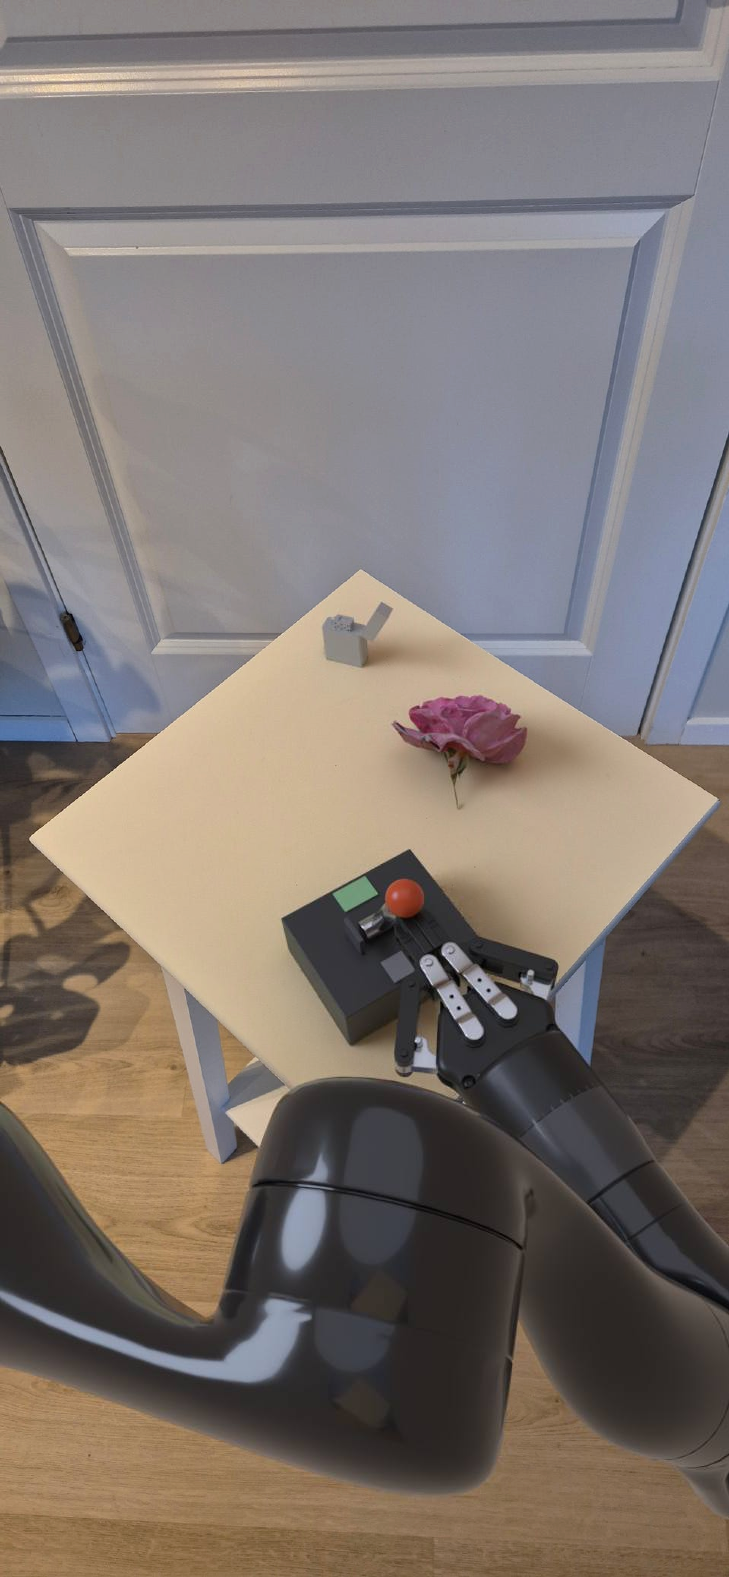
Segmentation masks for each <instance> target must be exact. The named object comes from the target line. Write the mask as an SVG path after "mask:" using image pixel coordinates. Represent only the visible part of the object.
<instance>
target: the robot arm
mask: <svg viewBox="0 0 729 1577" xmlns="http://www.w3.org/2000/svg"><path fill="white" fill-rule="evenodd" d="M394 933H395V940H396V944H397V945H398V946H399V948H400V949H401V951H402V952H403V953H404V955H405V956H406V958H407V959H408V961H409V962H410V963H411V965H412V966H413V968H414V969H415V970H414V971H413V973H412V974H411V975H408V976H406V977H404V979H403V980H402V987H401V996H400V1005H399V1013H398V1018H397V1024H396V1032H395V1041H394V1051H393V1057H394V1069H395V1070H394V1071H395V1073H396V1074H397V1076H399V1077H400V1078H408V1077H410V1076H412V1075H413V1073H420V1074H421V1073H422V1074H429V1075H430V1074H431V1075H436V1077H437V1079H438V1080H439V1082H440V1083H441V1084H442V1085H444V1086H446V1087H447V1088H449V1089H451V1090H453V1091H454V1092H455V1093H457V1094H458V1095H459V1097H460V1098H461V1099H462V1101H460V1100H458V1099H456V1098H453V1097H451V1096H448V1095H445V1094H442V1093H439V1092H436V1091H435V1090H431V1089H427V1088H425V1087H422V1086H418V1085H415V1084H410V1083H406V1082H402V1081H397V1080H392V1079H387V1078H386V1079H384V1078H376V1077H370V1076H369V1077H366V1076H330V1077H323V1078H316V1079H313V1080H309V1081H306V1082H303V1083H300V1084H297V1085H296V1086H294V1087H293V1088H292V1089H291V1090H289V1091H287V1093H285V1094H283V1096H281V1098H280V1099H279V1100H278V1102H277V1103H276V1104H275V1107H274V1109H273V1111H272V1113H271V1116H270V1118H269V1121H268V1123H267V1125H266V1128H265V1131H264V1133H263V1135H262V1139H261V1142H260V1145H259V1148H258V1150H257V1154H256V1157H255V1161H254V1163H253V1164H254V1165H253V1168H252V1172H251V1175H250V1179H249V1181H248V1182H249V1183H248V1189H249V1190H247V1191H246V1194H245V1197H244V1201H243V1205H242V1209H241V1213H240V1218H239V1221H238V1225H237V1228H236V1232H235V1235H234V1241H233V1244H232V1248H231V1251H230V1255H229V1259H228V1263H227V1266H226V1271H225V1274H224V1278H223V1281H222V1282H223V1283H222V1286H221V1289H222V1292H221V1293H220V1296H219V1299H218V1303H217V1306H216V1309H215V1310H214V1312H213V1313H211V1315H209V1316H204V1315H202V1314H200V1312H198V1311H196V1310H195V1309H193V1308H192V1307H190V1306H188V1305H187V1304H185V1303H184V1302H183V1301H181V1300H179V1299H177V1298H176V1297H175V1296H173V1295H171V1294H170V1293H169V1292H168V1291H166V1290H165V1289H164V1287H161V1286H160V1285H159V1284H158V1283H157V1282H156V1281H154V1280H153V1279H151V1277H149V1276H148V1275H146V1273H144V1272H143V1271H142V1270H141V1269H140V1268H139V1267H138V1266H137V1265H135V1263H133V1262H132V1261H131V1259H129V1258H128V1257H127V1256H126V1255H125V1253H123V1252H122V1251H121V1250H120V1248H119V1247H118V1246H117V1245H116V1244H115V1243H114V1242H113V1241H112V1240H111V1239H110V1238H109V1237H108V1235H106V1233H105V1232H104V1231H103V1230H102V1229H101V1227H100V1226H99V1224H97V1222H96V1221H95V1219H94V1218H93V1217H92V1215H91V1214H90V1213H89V1212H88V1210H87V1209H86V1207H85V1206H84V1205H83V1203H82V1202H81V1200H80V1199H79V1197H78V1196H77V1193H76V1192H75V1191H74V1190H73V1188H72V1186H71V1185H70V1183H69V1182H68V1181H67V1179H66V1178H65V1176H64V1175H63V1172H61V1170H60V1169H59V1168H58V1166H57V1165H56V1163H55V1162H54V1160H53V1158H51V1156H50V1155H49V1154H48V1152H47V1151H46V1150H45V1148H44V1147H43V1146H42V1145H41V1143H40V1142H39V1140H37V1138H36V1137H35V1136H34V1134H33V1133H32V1131H31V1130H30V1129H29V1127H28V1126H27V1125H26V1124H25V1123H24V1121H23V1120H21V1118H20V1117H19V1116H18V1115H17V1114H16V1113H15V1112H14V1111H13V1110H12V1109H10V1107H9V1106H8V1105H6V1104H5V1103H4V1102H2V1101H1V1100H0V1367H2V1368H7V1369H11V1370H14V1371H18V1372H21V1373H25V1374H29V1375H32V1376H35V1377H38V1378H42V1379H45V1380H47V1381H52V1382H54V1383H57V1384H60V1385H62V1386H66V1387H68V1388H71V1389H74V1390H77V1391H80V1392H83V1393H85V1394H88V1395H90V1396H93V1397H96V1398H99V1399H102V1400H105V1401H108V1402H111V1403H113V1404H116V1405H119V1406H121V1407H125V1408H127V1409H130V1410H133V1411H136V1412H139V1413H141V1414H143V1415H147V1416H150V1417H152V1418H156V1419H158V1420H161V1421H163V1422H167V1423H170V1424H171V1425H174V1426H178V1427H180V1428H183V1429H185V1430H189V1431H191V1432H194V1433H197V1434H200V1435H202V1436H205V1437H207V1438H211V1439H212V1440H213V1439H214V1440H216V1441H219V1442H221V1443H225V1444H228V1445H230V1446H233V1447H236V1448H238V1449H242V1450H245V1451H246V1452H249V1453H252V1454H256V1455H258V1456H260V1457H264V1458H266V1459H270V1460H273V1461H275V1462H278V1463H281V1464H285V1465H287V1466H291V1467H294V1468H297V1469H300V1470H303V1471H306V1472H309V1473H311V1474H316V1475H319V1476H322V1477H324V1478H327V1479H331V1480H333V1481H338V1482H342V1483H345V1484H349V1485H354V1486H358V1487H361V1488H366V1489H369V1490H373V1491H378V1492H383V1493H390V1494H396V1495H401V1496H408V1497H414V1498H415V1497H416V1498H444V1497H445V1498H446V1497H454V1496H460V1495H463V1494H466V1493H470V1492H471V1491H475V1490H476V1489H478V1488H480V1486H482V1485H483V1484H484V1483H485V1482H487V1481H488V1479H489V1478H490V1477H491V1476H492V1475H493V1473H494V1471H495V1469H496V1466H497V1464H498V1462H499V1457H500V1454H501V1448H502V1445H503V1440H504V1434H505V1428H506V1422H507V1414H508V1406H509V1400H510V1392H511V1383H512V1376H513V1361H514V1357H515V1349H516V1340H517V1332H518V1323H519V1325H520V1327H521V1329H522V1331H523V1333H524V1335H525V1337H526V1339H527V1341H528V1343H529V1344H530V1347H531V1348H532V1350H533V1352H534V1354H535V1356H536V1358H537V1360H538V1362H539V1364H540V1366H541V1368H542V1370H543V1372H544V1374H545V1376H546V1377H547V1379H548V1381H549V1382H550V1384H551V1386H552V1387H553V1388H554V1390H555V1392H556V1393H557V1394H558V1395H559V1397H560V1398H561V1400H562V1401H563V1402H564V1404H565V1405H566V1407H567V1409H569V1410H570V1412H571V1413H572V1414H573V1415H574V1416H575V1417H576V1418H577V1419H578V1420H579V1421H580V1422H581V1423H582V1424H583V1425H584V1426H585V1427H586V1428H587V1429H588V1430H589V1431H591V1432H592V1433H593V1434H595V1435H596V1436H597V1437H598V1438H601V1439H602V1440H603V1441H605V1442H606V1443H608V1444H610V1445H611V1446H613V1447H615V1448H618V1449H619V1450H622V1451H625V1452H627V1453H630V1454H633V1455H634V1456H635V1455H636V1456H639V1457H643V1458H645V1459H649V1460H653V1461H656V1462H660V1463H663V1464H667V1465H669V1466H671V1467H672V1468H673V1469H674V1470H675V1471H676V1472H677V1473H678V1474H679V1475H680V1476H681V1477H682V1479H683V1480H684V1482H685V1483H686V1484H687V1487H688V1488H689V1489H690V1490H691V1491H692V1492H693V1494H694V1495H695V1496H696V1497H697V1498H698V1499H699V1500H700V1501H701V1502H702V1503H703V1504H704V1506H706V1507H707V1508H708V1509H709V1510H710V1511H711V1512H712V1513H714V1514H715V1515H717V1516H719V1517H721V1518H723V1519H725V1520H728V1521H729V1245H728V1244H727V1242H725V1241H724V1240H723V1238H721V1237H720V1235H719V1234H718V1233H716V1232H715V1230H714V1229H713V1227H711V1226H710V1225H709V1224H708V1223H707V1222H706V1220H705V1219H704V1218H703V1216H701V1214H700V1213H699V1212H698V1211H697V1209H696V1208H695V1206H694V1205H693V1204H692V1203H691V1202H690V1200H689V1199H688V1198H687V1196H686V1195H685V1194H684V1193H683V1191H682V1190H681V1189H680V1187H679V1186H678V1185H677V1183H676V1182H675V1181H674V1180H673V1179H672V1177H671V1176H670V1175H669V1173H668V1172H667V1171H666V1169H665V1168H664V1167H663V1166H662V1164H661V1163H660V1161H658V1159H657V1157H656V1156H655V1155H654V1153H653V1152H652V1150H651V1149H650V1147H649V1145H648V1144H647V1142H646V1140H645V1138H644V1137H643V1135H642V1134H641V1132H640V1130H639V1128H638V1126H636V1124H635V1123H634V1121H633V1120H632V1118H631V1117H630V1116H629V1114H628V1113H627V1112H626V1110H624V1108H623V1107H622V1106H621V1104H620V1103H619V1102H618V1101H617V1099H616V1097H614V1095H613V1094H612V1093H611V1091H610V1090H609V1088H608V1087H606V1085H605V1084H604V1082H603V1081H602V1080H601V1079H600V1077H599V1076H598V1074H597V1073H596V1072H595V1071H594V1070H593V1068H592V1066H590V1064H589V1063H588V1062H587V1061H586V1059H585V1058H584V1057H583V1055H582V1054H581V1052H579V1050H578V1049H577V1047H576V1046H575V1045H574V1044H573V1043H572V1041H571V1040H570V1039H569V1037H568V1036H567V1035H566V1034H565V1032H564V1031H563V1030H561V1028H560V1027H559V1026H558V1024H557V1022H556V1018H555V1012H554V1008H553V1006H552V1004H551V1003H550V1001H548V1000H549V998H550V993H551V991H552V990H553V989H555V986H556V983H557V982H556V981H557V978H558V972H559V963H558V961H556V960H555V959H553V958H551V957H549V956H548V957H547V956H544V955H542V954H538V953H534V952H532V951H528V950H525V949H522V948H518V947H515V946H511V945H509V944H505V943H503V942H498V941H495V940H493V939H489V938H486V937H483V936H479V937H474V938H473V939H471V941H470V942H466V943H455V942H453V941H452V940H451V939H450V938H449V937H448V936H447V934H446V933H445V932H444V930H443V929H442V928H441V926H440V925H439V924H438V922H437V921H436V920H435V918H434V917H433V916H432V914H431V913H430V912H428V911H426V910H425V909H424V910H422V911H420V912H418V913H417V914H416V915H414V916H412V917H408V918H401V917H398V916H396V925H395V926H394ZM489 975H491V976H494V977H498V978H501V979H504V980H507V981H511V982H513V983H516V984H519V987H520V989H519V988H516V987H514V986H510V985H508V984H506V983H503V982H499V981H494V980H492V978H491V977H489ZM426 993H427V994H428V996H429V997H430V999H429V1000H431V1002H432V1005H433V1007H434V1010H435V1013H436V1014H437V1016H438V1017H437V1026H436V1046H435V1048H436V1049H435V1053H433V1052H432V1051H431V1050H430V1049H429V1043H428V1040H427V1039H426V1037H424V1036H423V1035H419V1034H418V1033H419V1024H420V1013H421V1004H422V1003H421V999H422V998H423V997H424V996H425V994H426ZM420 1003H421V1004H420Z"/></svg>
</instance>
